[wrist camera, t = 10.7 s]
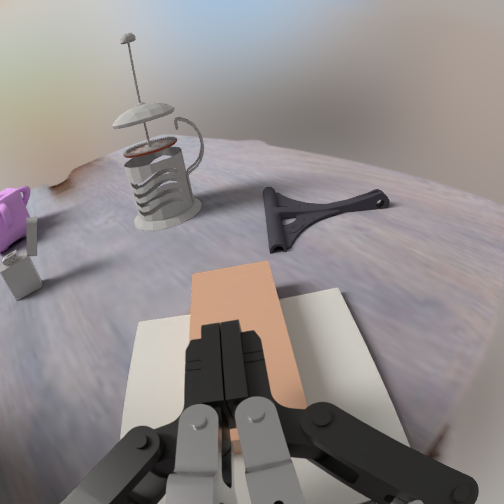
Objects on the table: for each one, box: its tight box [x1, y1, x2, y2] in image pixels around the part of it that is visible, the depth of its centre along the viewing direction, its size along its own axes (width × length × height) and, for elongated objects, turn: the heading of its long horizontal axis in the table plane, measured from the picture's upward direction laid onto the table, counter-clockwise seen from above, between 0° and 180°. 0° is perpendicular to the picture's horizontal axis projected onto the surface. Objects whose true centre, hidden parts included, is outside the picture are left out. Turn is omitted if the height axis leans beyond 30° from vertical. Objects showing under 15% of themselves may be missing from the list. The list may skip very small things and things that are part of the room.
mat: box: [120, 287, 411, 504], centre depth 17 cm, size 16×16×1 cm
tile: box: [189, 261, 308, 454], centre depth 19 cm, size 6×2×14 cm
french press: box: [112, 33, 204, 231], centre depth 35 cm, size 10×12×25 cm
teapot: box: [0, 186, 30, 252], centre depth 43 cm, size 18×14×10 cm
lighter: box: [0, 217, 43, 301], centre depth 29 cm, size 7×2×8 cm, turn 129°
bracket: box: [263, 187, 389, 254], centre depth 35 cm, size 14×15×3 cm
